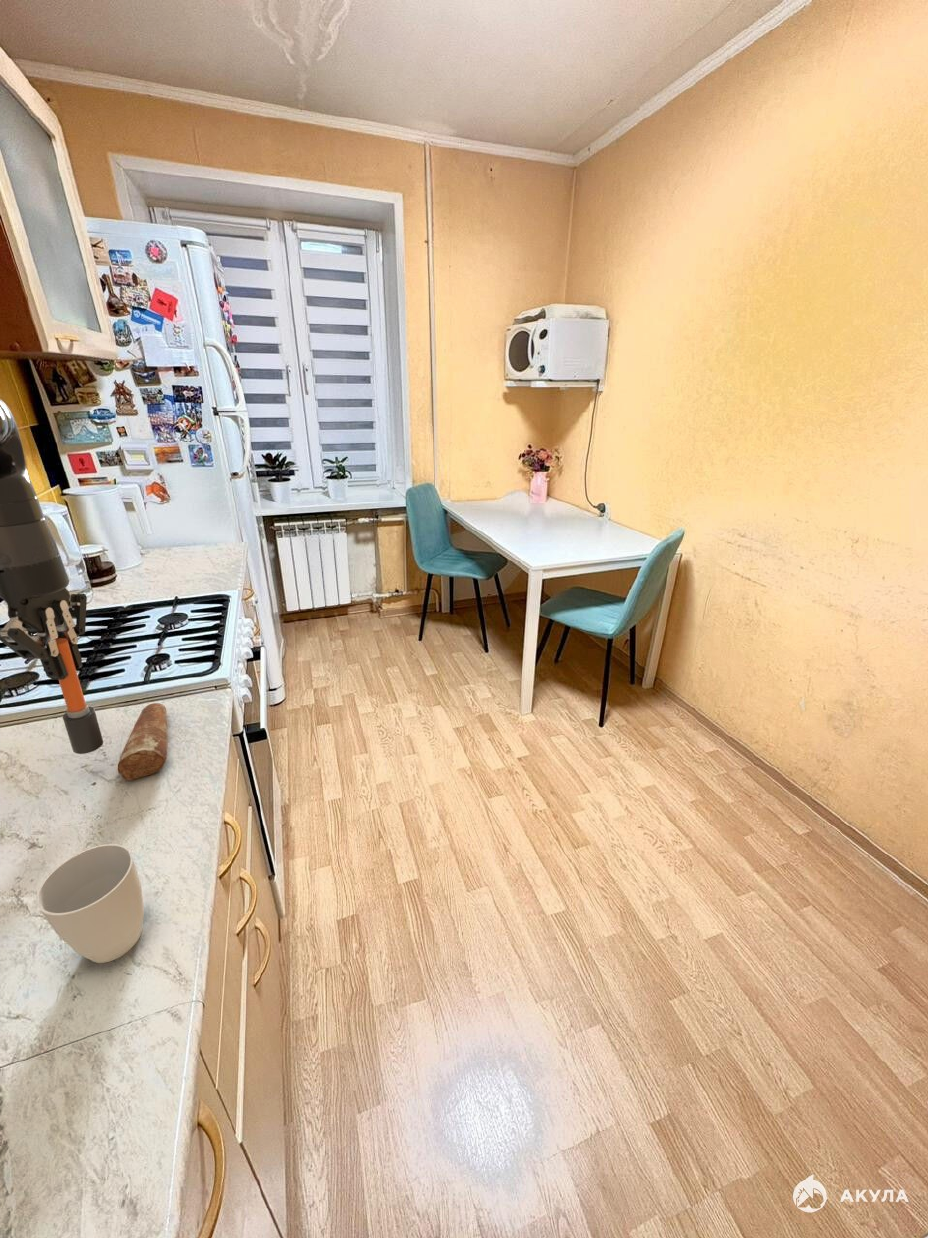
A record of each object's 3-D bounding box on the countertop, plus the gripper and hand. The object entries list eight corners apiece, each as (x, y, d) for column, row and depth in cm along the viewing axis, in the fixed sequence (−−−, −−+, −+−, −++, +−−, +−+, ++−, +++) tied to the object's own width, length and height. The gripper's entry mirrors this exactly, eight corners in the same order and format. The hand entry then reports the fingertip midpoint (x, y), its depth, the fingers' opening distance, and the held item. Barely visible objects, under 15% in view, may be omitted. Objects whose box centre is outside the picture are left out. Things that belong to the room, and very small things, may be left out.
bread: (122, 789, 76) (111, 760, 74) (142, 720, 92) (133, 695, 90) (168, 777, 78) (159, 749, 76) (180, 712, 94) (172, 687, 92)
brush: (66, 751, 75) (32, 645, 67) (88, 736, 78) (58, 633, 71) (88, 756, 74) (56, 649, 67) (109, 740, 78) (81, 637, 70)
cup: (163, 895, 60) (139, 835, 55) (151, 961, 53) (123, 897, 49) (83, 919, 57) (52, 857, 53) (59, 992, 50) (22, 927, 46)
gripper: (35, 541, 70) (75, 650, 77) (-59, 574, 57) (-1, 700, 65) (88, 541, 70) (123, 650, 77) (6, 574, 57) (57, 700, 65)
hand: (66, 672), depth 71 cm, fingers closed on brush, 2 cm apart
